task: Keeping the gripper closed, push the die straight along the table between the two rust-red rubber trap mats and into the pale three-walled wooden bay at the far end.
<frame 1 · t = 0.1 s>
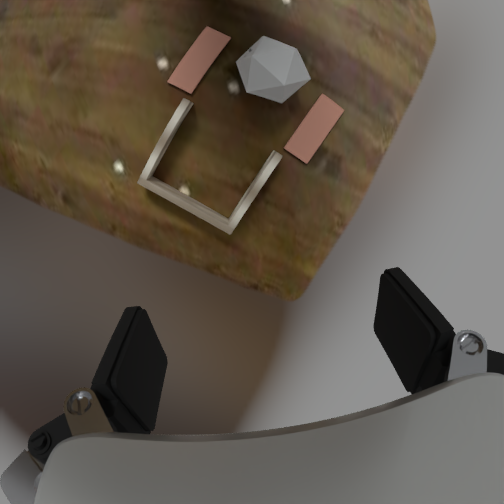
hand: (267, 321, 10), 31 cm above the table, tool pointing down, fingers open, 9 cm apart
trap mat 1: (198, 59, 31), on the table
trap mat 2: (314, 128, 36), on the table
die: (269, 74, 33), on the table
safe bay: (211, 161, 37), on the table
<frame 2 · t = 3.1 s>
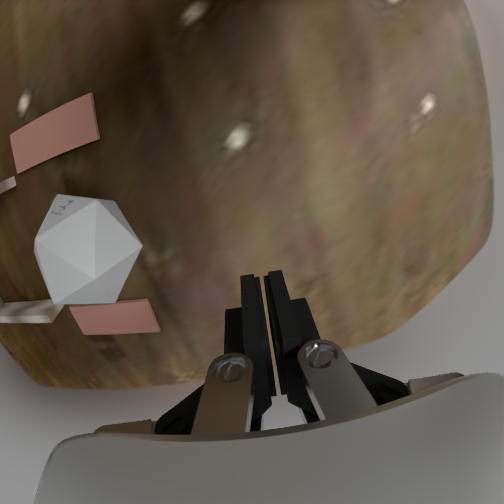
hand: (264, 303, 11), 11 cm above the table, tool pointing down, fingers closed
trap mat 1: (50, 135, 17), on the table
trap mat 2: (112, 317, 26), on the table
die: (104, 228, 22), on the table
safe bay: (5, 253, 22), on the table
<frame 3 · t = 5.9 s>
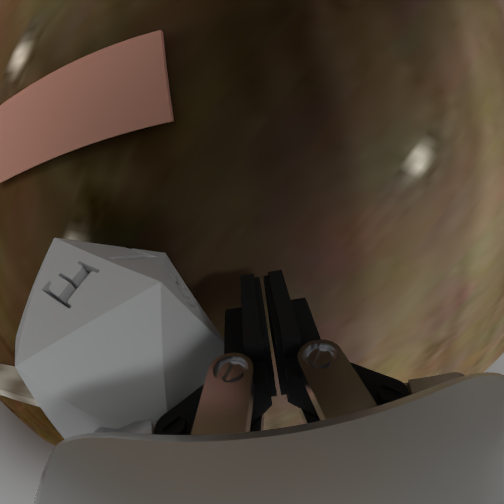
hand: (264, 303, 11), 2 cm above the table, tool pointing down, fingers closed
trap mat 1: (63, 110, 9), on the table
die: (138, 293, 13), on the table, touching gripper
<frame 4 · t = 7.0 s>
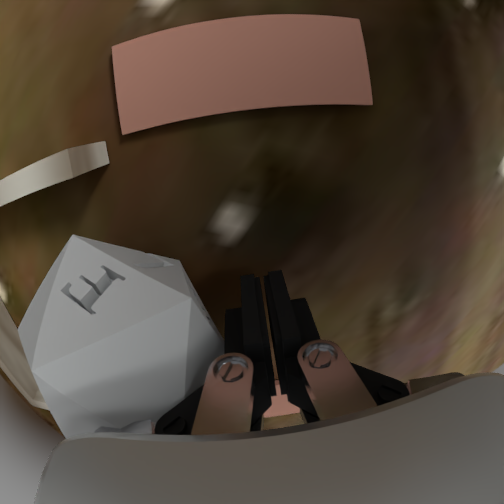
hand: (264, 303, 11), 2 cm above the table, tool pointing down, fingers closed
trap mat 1: (242, 62, 9), on the table
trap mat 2: (281, 396, 17), on the table
die: (144, 295, 13), on the table, touching gripper
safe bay: (59, 302, 13), on the table
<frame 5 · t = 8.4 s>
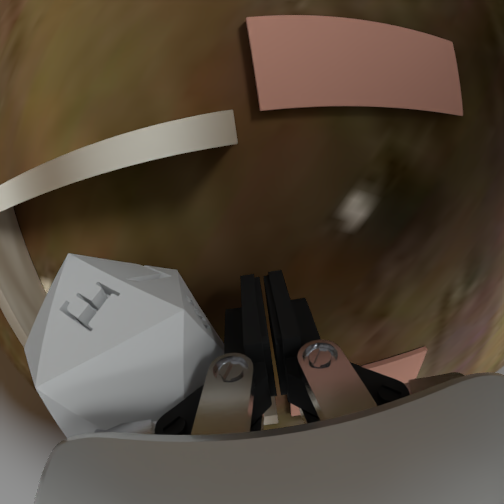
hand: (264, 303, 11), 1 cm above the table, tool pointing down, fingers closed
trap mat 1: (372, 63, 9), on the table
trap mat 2: (359, 382, 17), on the table
die: (146, 305, 13), on the table, touching gripper
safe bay: (137, 300, 13), on the table
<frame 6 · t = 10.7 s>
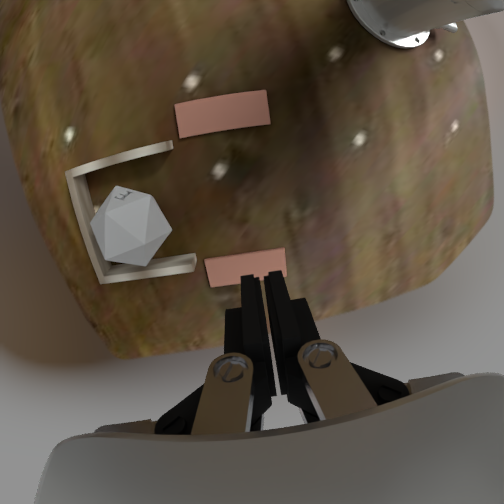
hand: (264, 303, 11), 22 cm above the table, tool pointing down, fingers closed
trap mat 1: (222, 112, 28), on the table
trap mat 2: (246, 267, 36), on the table
die: (140, 214, 32), on the table
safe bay: (137, 211, 32), on the table
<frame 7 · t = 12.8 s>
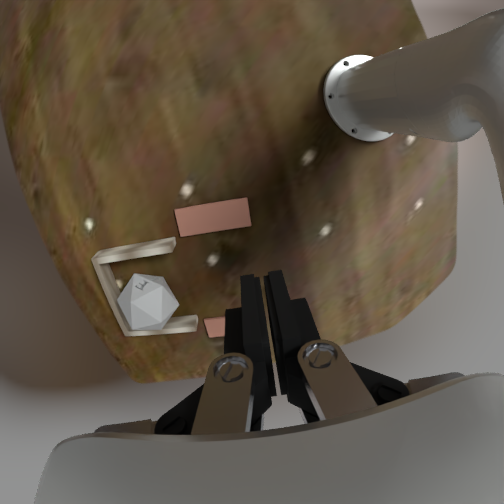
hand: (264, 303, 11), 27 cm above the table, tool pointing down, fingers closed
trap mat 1: (212, 216, 38), on the table
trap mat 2: (235, 324, 46), on the table
die: (153, 288, 43), on the table
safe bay: (151, 286, 42), on the table
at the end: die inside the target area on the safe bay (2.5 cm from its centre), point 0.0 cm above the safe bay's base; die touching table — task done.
